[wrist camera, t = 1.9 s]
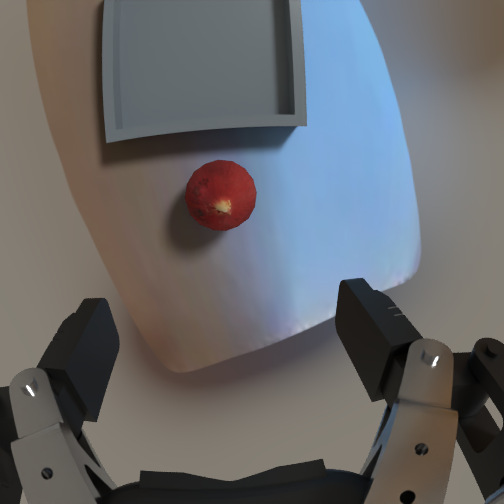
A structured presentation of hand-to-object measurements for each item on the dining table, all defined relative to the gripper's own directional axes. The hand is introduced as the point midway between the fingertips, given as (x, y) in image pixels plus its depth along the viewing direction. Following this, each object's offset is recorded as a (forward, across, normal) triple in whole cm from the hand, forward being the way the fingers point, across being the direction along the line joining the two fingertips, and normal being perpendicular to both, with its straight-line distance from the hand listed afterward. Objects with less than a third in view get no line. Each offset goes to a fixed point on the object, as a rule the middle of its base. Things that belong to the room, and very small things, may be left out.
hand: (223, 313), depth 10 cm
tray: (+20, +1, -14) cm, 24 cm away
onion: (+20, 0, 0) cm, 20 cm away
